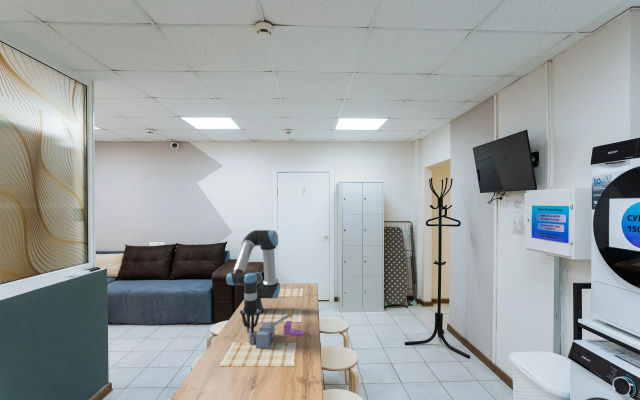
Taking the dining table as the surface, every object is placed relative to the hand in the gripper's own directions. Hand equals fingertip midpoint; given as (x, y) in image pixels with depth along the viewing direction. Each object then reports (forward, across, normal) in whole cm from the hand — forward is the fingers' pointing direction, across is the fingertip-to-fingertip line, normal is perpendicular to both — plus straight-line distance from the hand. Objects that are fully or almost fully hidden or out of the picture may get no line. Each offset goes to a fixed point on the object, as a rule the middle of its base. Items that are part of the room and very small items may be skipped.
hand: (250, 338), depth 183 cm
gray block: (+2, +7, 0) cm, 7 cm away
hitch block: (+2, +9, 0) cm, 9 cm away
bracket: (+2, +25, +12) cm, 28 cm away
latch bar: (-10, +20, 0) cm, 22 cm away
